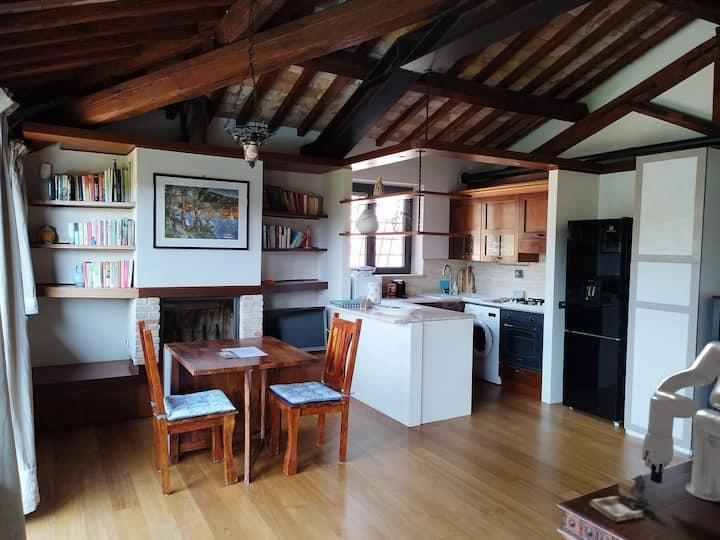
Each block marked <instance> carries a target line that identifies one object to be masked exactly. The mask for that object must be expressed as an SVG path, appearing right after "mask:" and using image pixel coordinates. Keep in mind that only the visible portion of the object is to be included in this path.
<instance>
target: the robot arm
mask: <svg viewBox="0 0 720 540" xmlns="http://www.w3.org/2000/svg"><path fill="white" fill-rule="evenodd" d="M719 374H720V341H715V340H714V341H710V342H708V343H707V344H706V345H704V347H703V348H702V350H701V351H700V352H699V353H698V355H697V357H696V358H695V359H694V360H693V362H692V363H691V365H690V366H689V367H688V368H686V369H683V370H681V371H679V372H678V371H677V372H676V373H674V374H672V375H670V376H668V377H666V378H665V379H663V381H662V382H661V383H660V384H659V385H658V387H657V388H656V390H654V393H653V395H651V397H650V400H649V409H648V411H649V414H648V426H647V427H648V428H647V433H646V434H645V436H644V439H643V445H642V451H641V460H642V461H645V462H644V466H645V467H646V468H648V469H649V470H650V481H651V482H653V483H655V484H658V485H659V484H662V482H663V473H665V470H666V469H665V468H667V466H669V465H670V464H671V463H672V462H673V459H674V439H673V430H674V419H675V418H677V419H690V418H692V425H693V434H694V435H693V436H694V438H693V439H694V441H693V442H694V443H693V455H692V468H691V479H690V480H691V481H690V483H687V484H686V485H685V490H686V491H687V492H688V493H689V494H690V495H692V496H693V497H697V498H699V499H702V500H704V501H705V500H707V501H710V502H720V412H719V411H716V410H713V409H709V408H702V409H698V405H697V403H696V402H695V401H694V399H691V398H690V397H687V396H684V395H681V394H679V393H676V392H678V391H680V390H682V389H686V388H692V387H693V388H694V387H695V388H696V387H702V386H708V385H711V384H713V382H714V381H715V380H716V378H717V376H718V375H719ZM709 403H710V405H711V406H712V407H713V408H715V409H717V410H720V376H719V377H718V380H717V382H716V383H715V386H714V387H713V390H712V391H711V393H710V395H709Z"/></svg>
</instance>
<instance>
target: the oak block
mask: <svg viewBox="0 0 720 540" xmlns="http://www.w3.org/2000/svg"><path fill="white" fill-rule="evenodd" d="M634 484H635V480H633V479H631V478H626V479H619V484H618V485H619V486H618V494H619V495H621V496H623V497H624V496H625V498H626V497H627V498H626V499H628V498H629V499H630V496H629V494H631V493H634ZM629 499H628V500H629Z"/></svg>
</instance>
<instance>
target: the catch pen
mask: <svg viewBox="0 0 720 540" xmlns="http://www.w3.org/2000/svg"><path fill="white" fill-rule="evenodd" d="M589 506H590V507H592V508H594V509H595V510H596V511H598V512H599V513H601V514H603V515H604V516H605V517H607V518H609V520H612V521H613V522H614V523H616V522H622V520H623V521H627V519H628V520H633V518H634V519H639V517H640V518H643V517H644V511H641V510H633V509H632V508H630V507H627V506H626V505H624V504H622V503H621V502H620V496H618V495H612V496H607V497H601V498H594V499H589Z"/></svg>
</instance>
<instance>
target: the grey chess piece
mask: <svg viewBox="0 0 720 540" xmlns="http://www.w3.org/2000/svg"><path fill="white" fill-rule="evenodd" d="M634 481H635V484H634V493H631V494H629V496H630V499H631V500H630V501H631V504H630V503H629V507H630V506H631V507H632V508H631V507H630V508H631V509H633V508H634V509H633V510H635V509H636V510H635V511H637V510H641V511H643V512H644V511H645V512H646V511H647V507H646V505H647V503H648V501H649V498H648V497H647V496H646V495H645V489H646V487H645V481H646V480H645V478H644V477H643V476H642V474H641V473H639V475H636V476H635V479H634Z"/></svg>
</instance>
